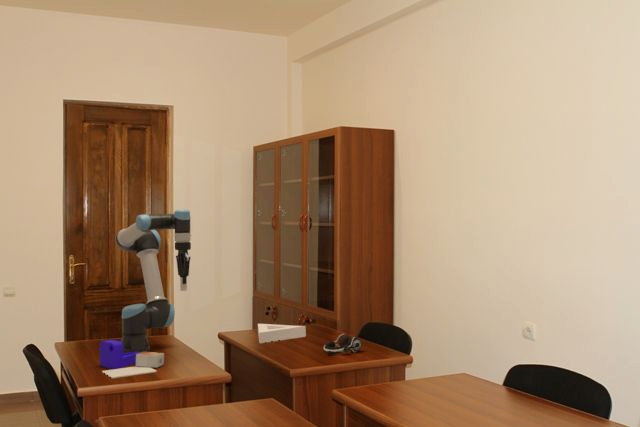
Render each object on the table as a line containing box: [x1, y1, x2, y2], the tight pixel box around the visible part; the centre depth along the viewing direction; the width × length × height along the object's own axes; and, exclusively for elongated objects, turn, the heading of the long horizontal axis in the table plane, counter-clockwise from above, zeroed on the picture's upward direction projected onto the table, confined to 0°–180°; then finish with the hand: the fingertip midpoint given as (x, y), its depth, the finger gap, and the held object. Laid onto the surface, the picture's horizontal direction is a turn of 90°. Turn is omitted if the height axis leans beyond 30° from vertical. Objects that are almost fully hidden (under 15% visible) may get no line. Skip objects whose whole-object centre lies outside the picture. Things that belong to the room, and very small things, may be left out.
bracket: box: [99, 339, 140, 370], centre depth 339 cm, size 18×11×12 cm, turn 143°
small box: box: [135, 351, 165, 369], centre depth 332 cm, size 8×6×10 cm
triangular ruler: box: [257, 323, 307, 344], centre depth 400 cm, size 30×26×6 cm
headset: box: [323, 333, 363, 356], centre depth 358 cm, size 17×8×20 cm
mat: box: [101, 365, 158, 379], centre depth 322 cm, size 15×20×1 cm
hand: (183, 290), depth 351 cm, fingers closed
